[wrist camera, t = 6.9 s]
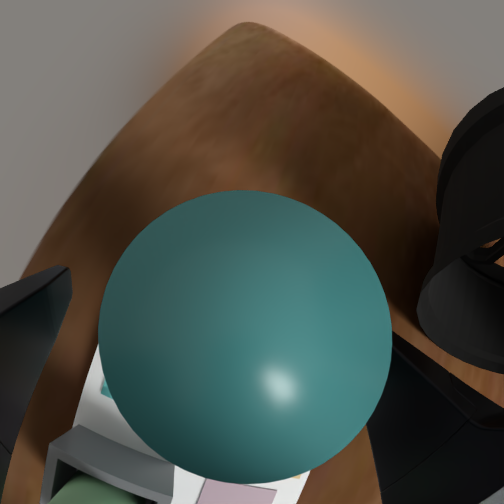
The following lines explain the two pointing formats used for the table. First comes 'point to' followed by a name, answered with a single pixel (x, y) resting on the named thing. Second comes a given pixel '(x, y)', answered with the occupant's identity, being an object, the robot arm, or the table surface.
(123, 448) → the button housing
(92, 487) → the button
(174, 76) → the table surface
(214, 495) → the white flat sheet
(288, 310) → the teal round-topped cylinder
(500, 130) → the car wheel rim
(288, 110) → the table surface
